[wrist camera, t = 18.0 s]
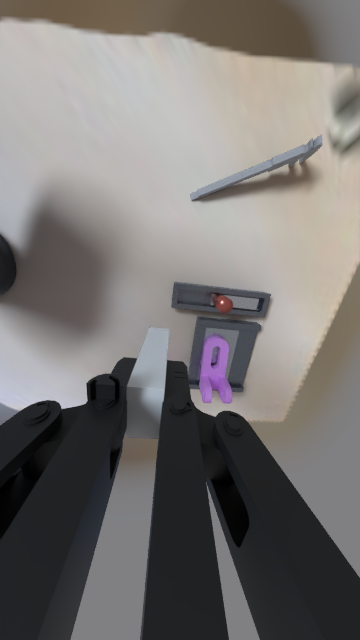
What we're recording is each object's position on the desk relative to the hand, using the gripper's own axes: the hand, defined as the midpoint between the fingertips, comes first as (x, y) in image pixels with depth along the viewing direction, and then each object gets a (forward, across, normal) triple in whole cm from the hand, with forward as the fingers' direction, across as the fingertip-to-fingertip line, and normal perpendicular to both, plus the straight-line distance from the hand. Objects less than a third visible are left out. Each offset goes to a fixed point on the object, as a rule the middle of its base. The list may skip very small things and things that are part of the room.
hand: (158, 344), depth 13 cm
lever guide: (+24, +11, 0) cm, 27 cm away
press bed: (+24, +14, -14) cm, 31 cm away
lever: (+24, +14, 0) cm, 27 cm away
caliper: (+25, +12, +22) cm, 35 cm away
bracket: (+23, +12, -15) cm, 30 cm away
